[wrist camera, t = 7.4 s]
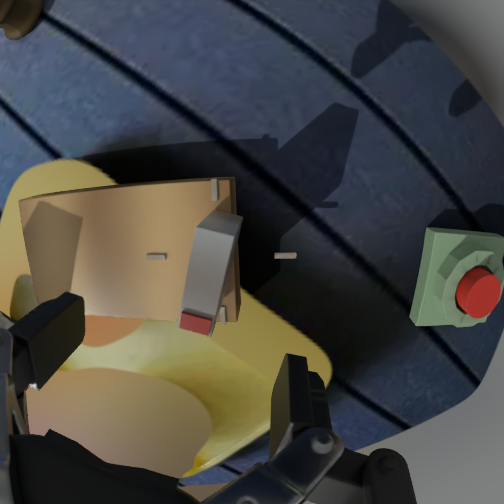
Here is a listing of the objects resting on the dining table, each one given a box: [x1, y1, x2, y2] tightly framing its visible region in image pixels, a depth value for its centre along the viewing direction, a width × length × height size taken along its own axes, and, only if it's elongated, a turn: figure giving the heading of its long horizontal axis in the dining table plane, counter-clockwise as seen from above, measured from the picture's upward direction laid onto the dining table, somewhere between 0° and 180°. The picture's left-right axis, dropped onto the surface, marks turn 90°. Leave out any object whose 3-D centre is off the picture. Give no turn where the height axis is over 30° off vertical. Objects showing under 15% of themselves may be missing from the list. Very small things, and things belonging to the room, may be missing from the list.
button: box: [456, 267, 501, 319], centre depth 20 cm, size 4×4×2 cm
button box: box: [410, 227, 504, 327], centre depth 22 cm, size 8×8×4 cm
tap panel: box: [19, 177, 296, 324], centre depth 23 cm, size 22×10×3 cm, turn 92°
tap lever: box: [178, 210, 243, 336], centre depth 19 cm, size 6×2×5 cm, turn 166°
